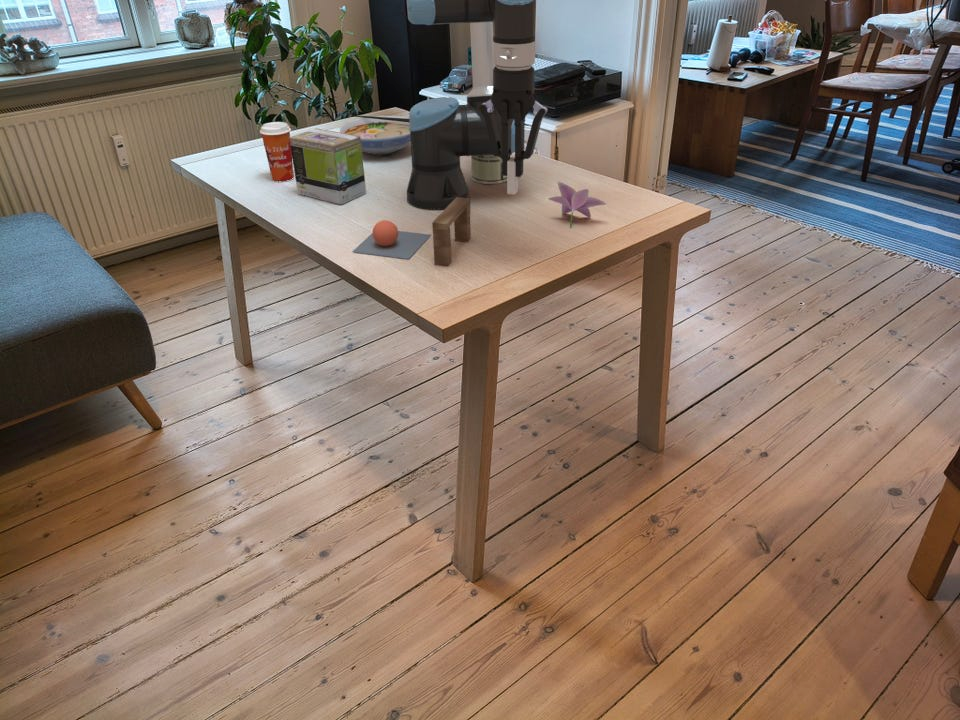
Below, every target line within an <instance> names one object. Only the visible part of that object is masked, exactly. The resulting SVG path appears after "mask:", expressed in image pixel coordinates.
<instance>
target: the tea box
mask: <svg viewBox="0 0 960 720" xmlns="http://www.w3.org/2000/svg"><path fill="white" fill-rule="evenodd" d="M289 140H290V146H291V153H292V162H293V173H294V177H295V182H296V184H295V185H296V191H297V194H298V195H300V194H302V195H301V196H304V195H306V196H305V197H308V196H309V198H312V197H313V198H312V199H317V200H320V201H321V200H322V201H326V202H330V203H333V204H338V205H343V204H346V203H349V202H351V201H353V200H355V199H357V197H358V198H359V196H360V197H362V196H363V195H366V193H367V191H366V190H367V189H366V188H367V187H366V178H365V169H364V167H365V166H364V158H363V151H362V147H361V139H360V136H358V135H352V134H346V133H341V132H340V131H334V130H327V129H321V128H317V127H316V128H314V129H310V130H307V131H305V132H301V133H299V134H295V135H293V136H290V137H289ZM361 195H362V196H361ZM352 199H353V200H352Z"/></svg>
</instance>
